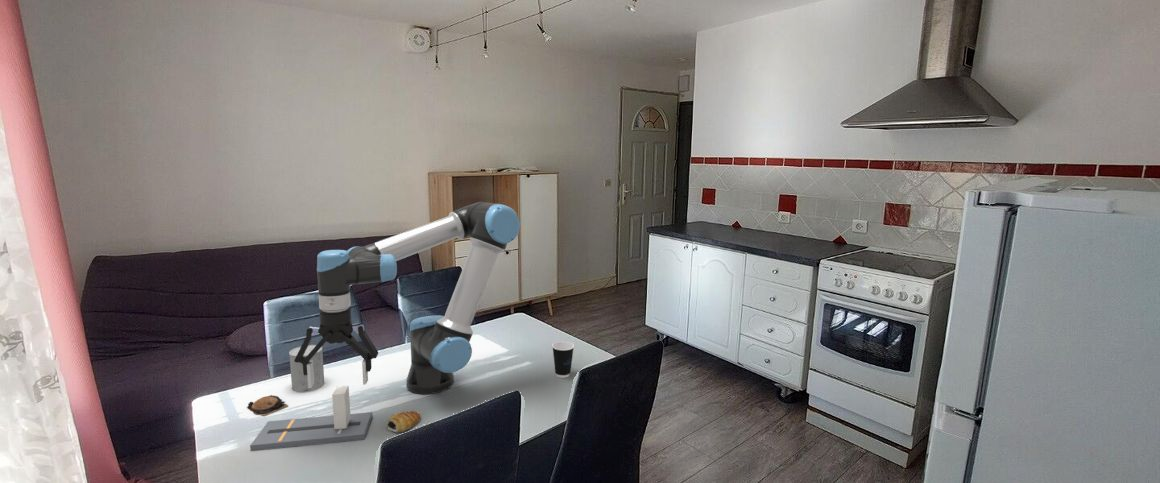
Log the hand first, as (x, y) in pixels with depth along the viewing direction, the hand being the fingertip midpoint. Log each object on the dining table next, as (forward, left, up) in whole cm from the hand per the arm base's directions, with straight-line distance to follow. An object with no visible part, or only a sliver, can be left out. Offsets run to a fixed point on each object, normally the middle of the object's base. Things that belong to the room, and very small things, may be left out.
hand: (338, 384), depth 133 cm
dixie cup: (-67, -24, -14) cm, 72 cm away
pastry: (-16, 0, -14) cm, 21 cm away
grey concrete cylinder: (+17, -31, -14) cm, 38 cm away
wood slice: (+25, -18, -14) cm, 34 cm away
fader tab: (0, 0, -12) cm, 12 cm away
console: (+7, 0, -14) cm, 15 cm away
